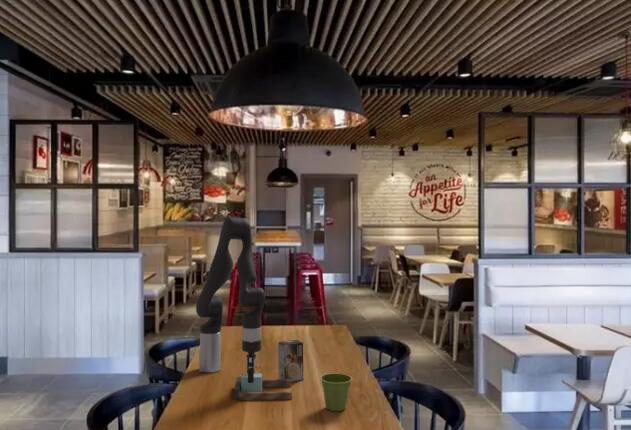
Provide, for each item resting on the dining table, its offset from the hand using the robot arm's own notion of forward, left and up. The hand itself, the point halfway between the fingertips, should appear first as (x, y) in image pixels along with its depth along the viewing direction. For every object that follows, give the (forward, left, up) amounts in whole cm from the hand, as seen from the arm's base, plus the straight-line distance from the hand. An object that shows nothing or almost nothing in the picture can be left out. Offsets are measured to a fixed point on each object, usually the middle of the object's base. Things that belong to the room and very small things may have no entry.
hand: (251, 379), depth 226 cm
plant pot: (+32, -19, -6) cm, 38 cm away
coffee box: (+16, +17, -6) cm, 24 cm away
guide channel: (+5, 0, -5) cm, 7 cm away
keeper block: (0, 0, -6) cm, 6 cm away
